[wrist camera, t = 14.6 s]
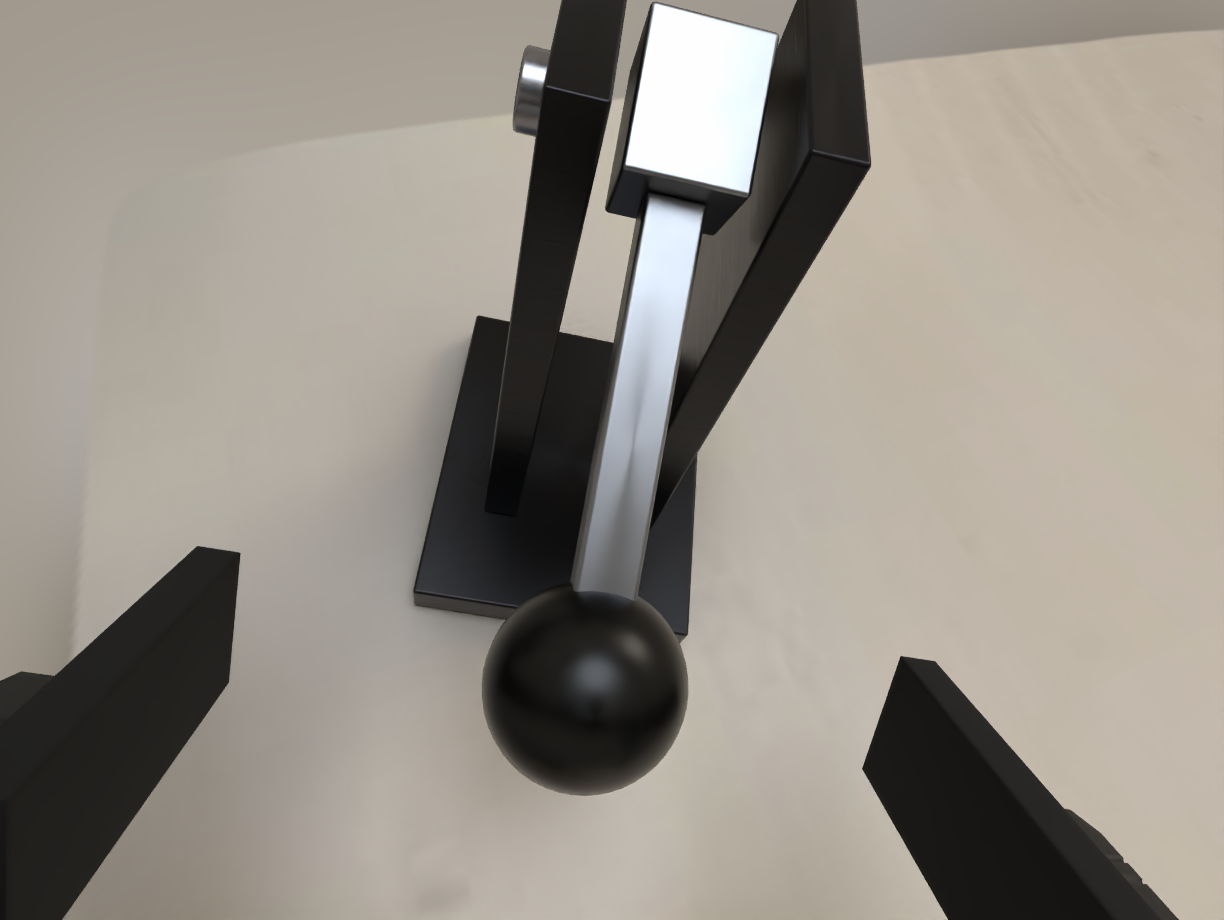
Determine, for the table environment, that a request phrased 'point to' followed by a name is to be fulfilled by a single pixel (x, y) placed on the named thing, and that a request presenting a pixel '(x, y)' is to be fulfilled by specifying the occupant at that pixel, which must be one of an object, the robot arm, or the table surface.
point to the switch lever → (634, 422)
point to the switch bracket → (578, 366)
